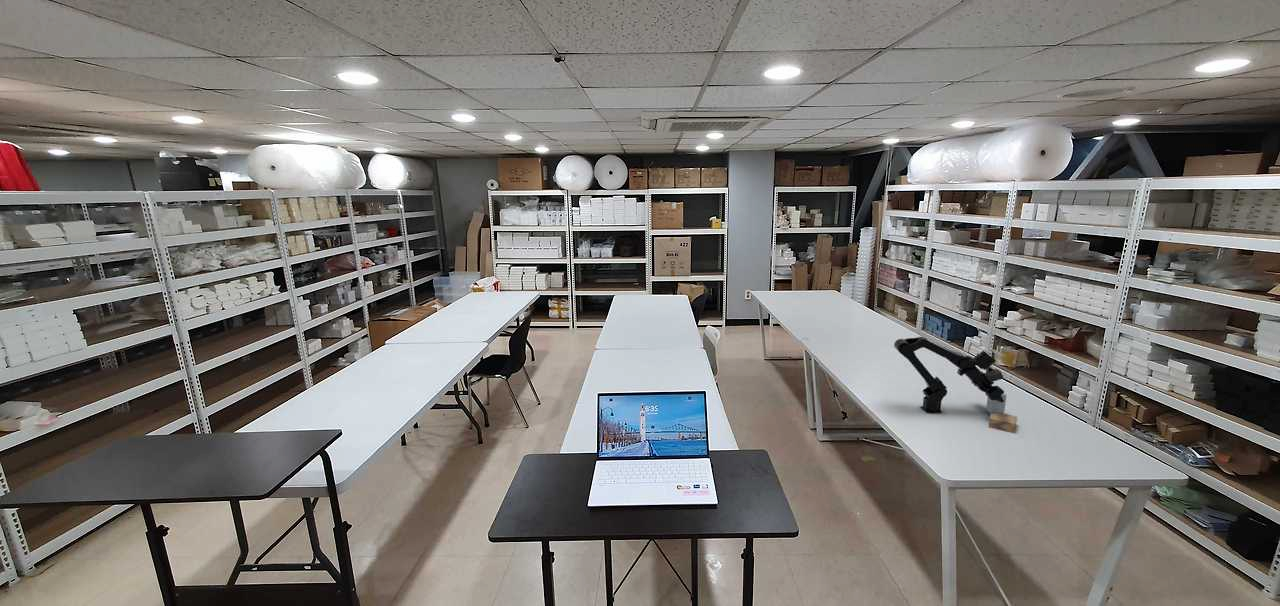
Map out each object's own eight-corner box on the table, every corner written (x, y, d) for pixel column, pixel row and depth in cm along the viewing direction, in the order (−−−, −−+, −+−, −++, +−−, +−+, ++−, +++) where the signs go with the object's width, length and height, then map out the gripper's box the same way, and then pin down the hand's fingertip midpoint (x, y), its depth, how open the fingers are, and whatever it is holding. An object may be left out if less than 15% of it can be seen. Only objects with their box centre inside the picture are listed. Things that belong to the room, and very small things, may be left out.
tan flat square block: (988, 426, 204) (989, 418, 204) (990, 419, 211) (991, 411, 210) (1014, 432, 199) (1015, 424, 198) (1016, 424, 205) (1017, 416, 204)
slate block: (991, 414, 214) (994, 394, 212) (985, 409, 219) (988, 389, 217) (1003, 415, 213) (1006, 394, 211) (998, 410, 218) (1001, 390, 216)
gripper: (1001, 371, 203) (1027, 396, 203) (981, 357, 221) (1005, 380, 221) (979, 387, 207) (1004, 412, 207) (961, 372, 224) (984, 395, 224)
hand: (1000, 399), depth 215 cm, fingers closed on slate block, 5 cm apart
